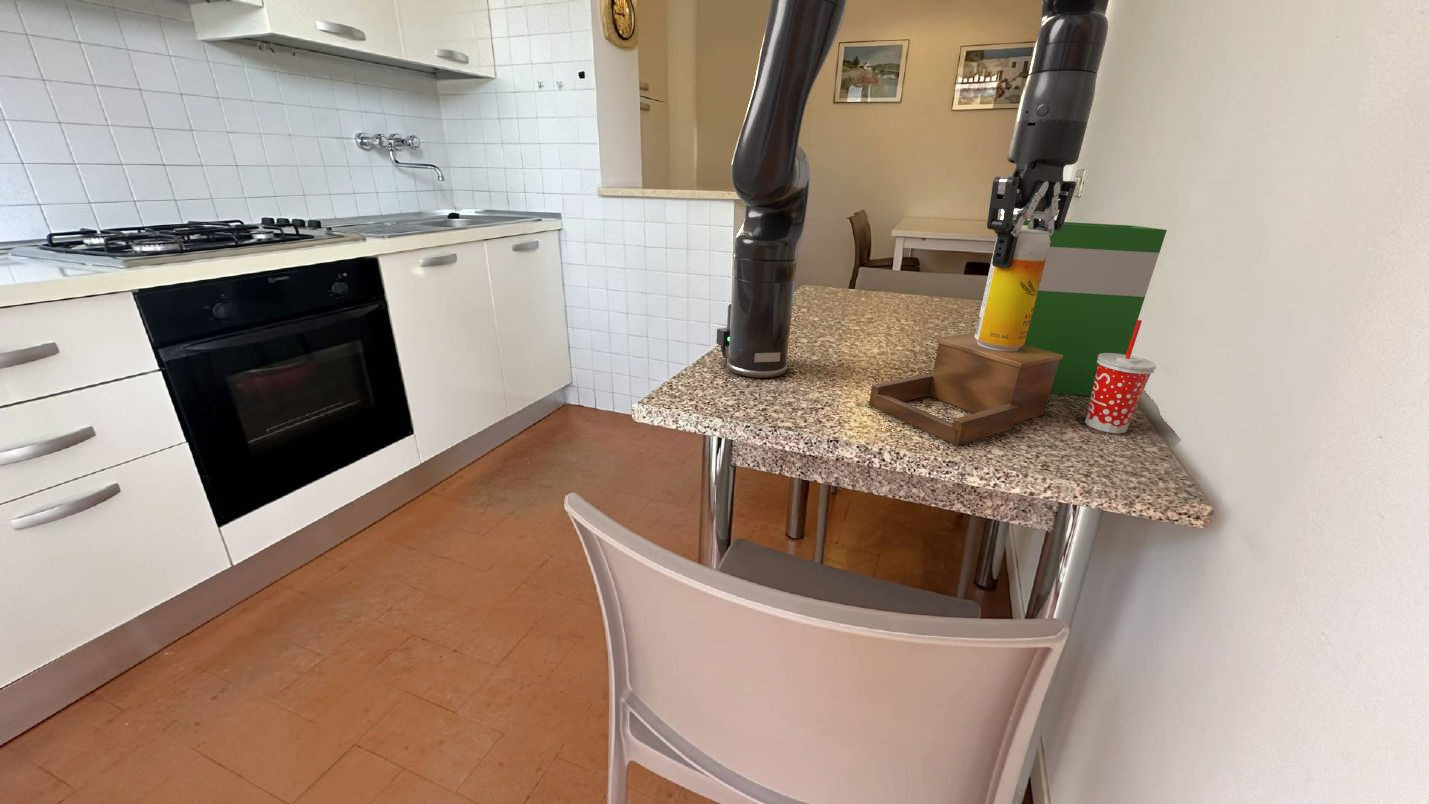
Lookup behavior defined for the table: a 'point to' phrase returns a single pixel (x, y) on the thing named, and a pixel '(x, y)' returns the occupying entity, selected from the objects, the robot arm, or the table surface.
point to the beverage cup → (1118, 388)
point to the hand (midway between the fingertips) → (1016, 265)
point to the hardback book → (1091, 296)
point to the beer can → (1012, 294)
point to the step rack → (973, 389)
